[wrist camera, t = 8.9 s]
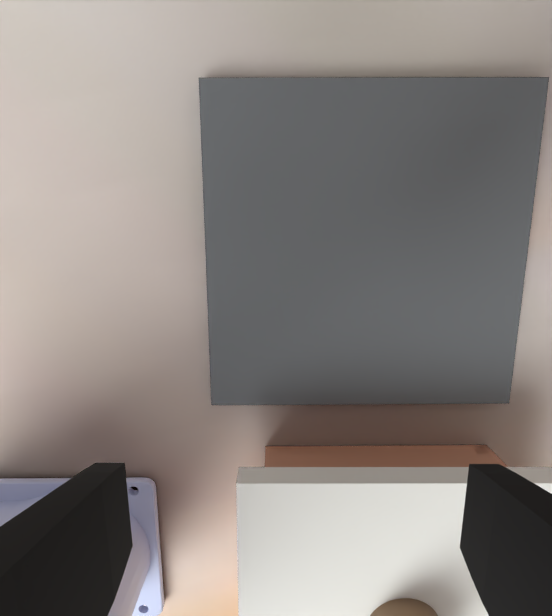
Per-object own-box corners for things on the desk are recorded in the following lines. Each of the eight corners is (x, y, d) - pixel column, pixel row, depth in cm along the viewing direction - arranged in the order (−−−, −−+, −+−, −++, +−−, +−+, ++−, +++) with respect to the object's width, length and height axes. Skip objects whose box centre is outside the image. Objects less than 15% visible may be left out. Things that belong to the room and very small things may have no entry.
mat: (213, 399, 19) (211, 405, 18) (201, 83, 16) (198, 77, 15) (501, 398, 19) (509, 403, 18) (539, 82, 16) (549, 77, 16)
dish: (267, 627, 21) (266, 716, 17) (265, 446, 19) (263, 501, 15) (465, 625, 21) (508, 713, 18) (486, 444, 19) (540, 499, 15)
